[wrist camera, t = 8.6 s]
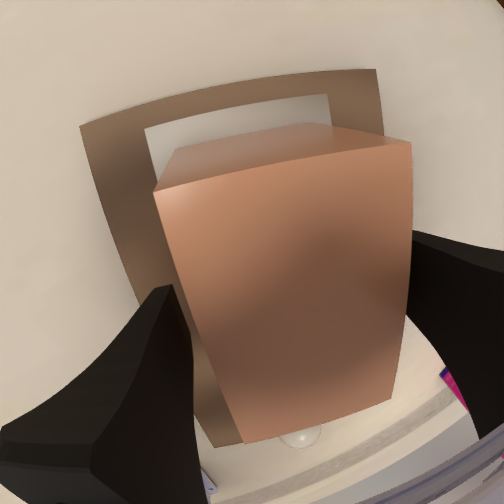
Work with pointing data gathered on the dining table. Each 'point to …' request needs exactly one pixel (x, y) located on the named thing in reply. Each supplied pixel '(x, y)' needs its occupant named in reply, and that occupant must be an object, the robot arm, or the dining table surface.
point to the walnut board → (193, 132)
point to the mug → (501, 2)
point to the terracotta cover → (294, 268)
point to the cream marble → (302, 437)
